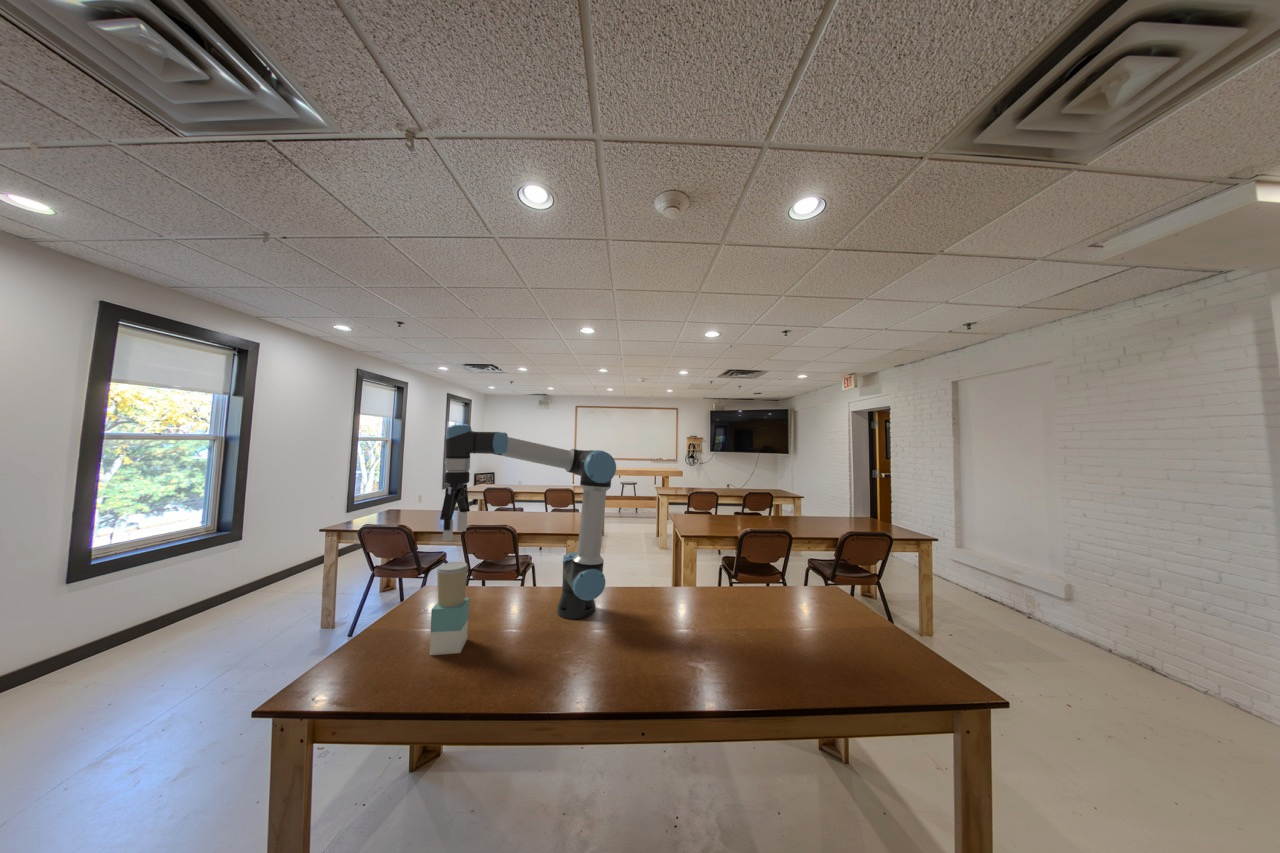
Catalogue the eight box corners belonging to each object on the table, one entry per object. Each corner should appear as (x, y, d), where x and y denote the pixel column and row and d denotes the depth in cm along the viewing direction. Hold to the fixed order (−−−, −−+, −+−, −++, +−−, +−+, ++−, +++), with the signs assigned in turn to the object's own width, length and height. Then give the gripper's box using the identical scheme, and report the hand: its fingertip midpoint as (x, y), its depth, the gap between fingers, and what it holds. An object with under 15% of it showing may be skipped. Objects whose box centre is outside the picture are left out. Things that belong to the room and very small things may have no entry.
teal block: (468, 618, 134) (469, 597, 135) (460, 630, 126) (461, 608, 126) (440, 619, 133) (441, 598, 133) (430, 632, 124) (431, 609, 125)
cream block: (467, 639, 134) (467, 618, 135) (460, 653, 125) (461, 630, 126) (438, 641, 132) (439, 620, 133) (429, 655, 124) (430, 632, 124)
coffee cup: (472, 598, 134) (473, 562, 135) (456, 609, 125) (458, 570, 125) (446, 596, 135) (447, 561, 136) (429, 607, 126) (430, 569, 126)
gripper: (458, 469, 144) (456, 527, 143) (430, 473, 119) (427, 544, 118) (479, 469, 145) (477, 527, 144) (456, 473, 120) (453, 544, 119)
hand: (455, 535), depth 131 cm, fingers open, 13 cm apart
